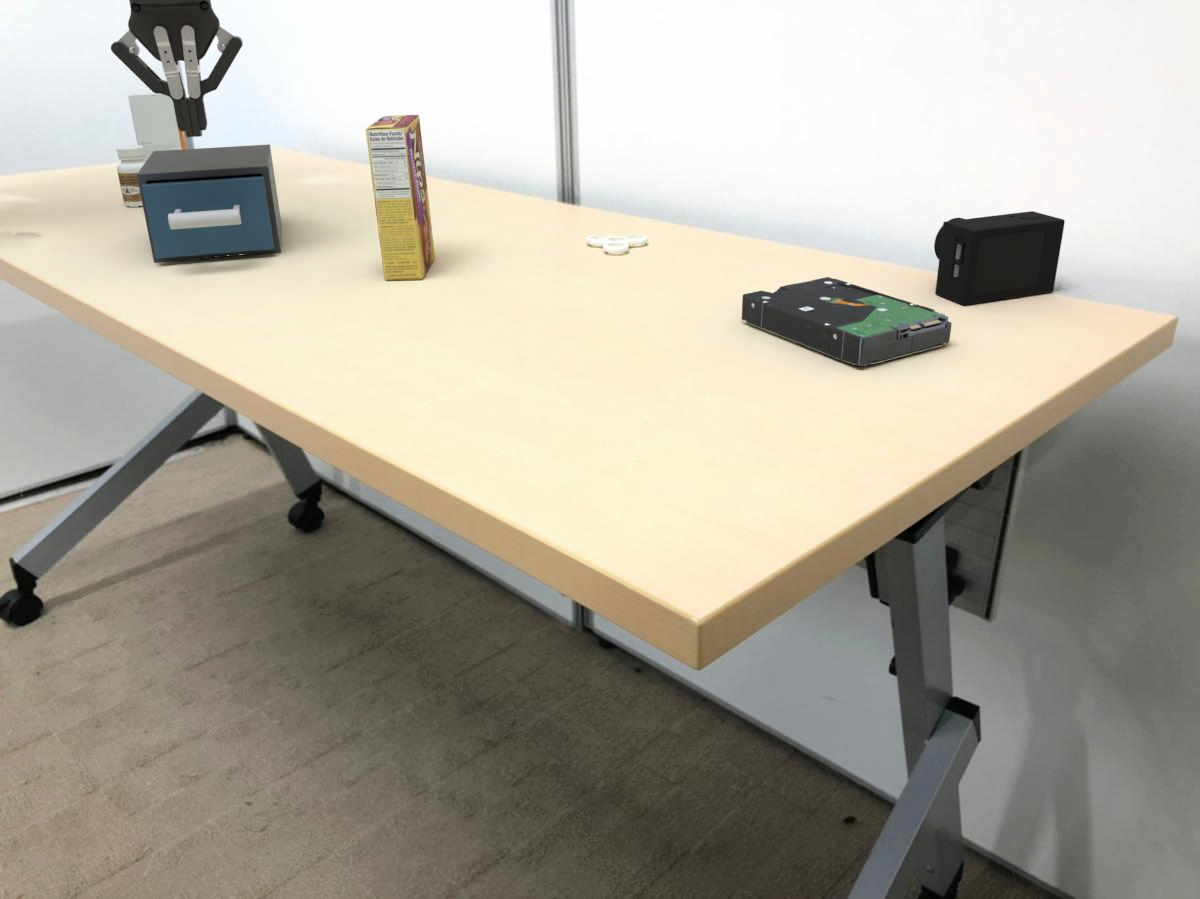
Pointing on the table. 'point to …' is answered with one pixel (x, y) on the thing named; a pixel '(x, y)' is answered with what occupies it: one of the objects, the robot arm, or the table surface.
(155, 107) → the small box
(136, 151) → the pill bottle
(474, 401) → the table surface
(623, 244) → the fidget spinner
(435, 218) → the table surface
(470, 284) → the table surface
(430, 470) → the table surface
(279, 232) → the drawer cabinet
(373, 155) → the candy box
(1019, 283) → the digital camera
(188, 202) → the blue drawer
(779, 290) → the disk drive
